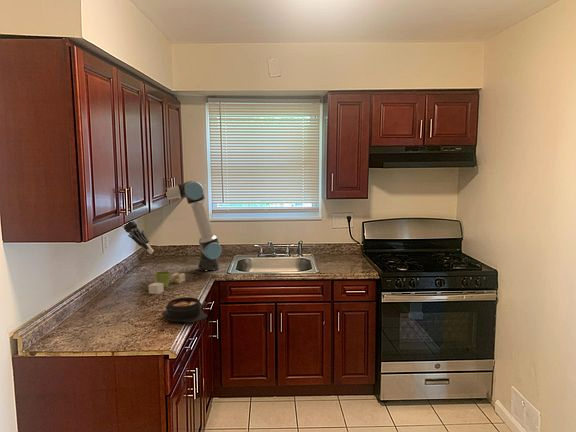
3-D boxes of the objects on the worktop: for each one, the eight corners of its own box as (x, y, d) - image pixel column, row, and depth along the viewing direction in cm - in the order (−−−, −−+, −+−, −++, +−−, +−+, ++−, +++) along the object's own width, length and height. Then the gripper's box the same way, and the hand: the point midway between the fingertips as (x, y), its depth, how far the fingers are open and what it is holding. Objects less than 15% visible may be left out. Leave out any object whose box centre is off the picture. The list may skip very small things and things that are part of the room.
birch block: (171, 282, 280) (171, 275, 280) (177, 280, 286) (176, 272, 285) (180, 283, 278) (179, 275, 278) (185, 281, 284) (184, 273, 284)
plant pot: (163, 283, 277) (162, 270, 276) (174, 285, 273) (173, 272, 272) (151, 287, 270) (151, 273, 269) (162, 289, 265) (162, 275, 264)
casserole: (152, 318, 214) (151, 301, 213) (182, 308, 229) (182, 292, 228) (186, 329, 199) (185, 311, 198) (216, 318, 214) (216, 301, 213)
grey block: (148, 293, 257) (148, 285, 257) (155, 290, 263) (154, 282, 262) (157, 294, 255) (157, 285, 255) (163, 291, 261) (163, 283, 260)
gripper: (131, 227, 284) (154, 254, 281) (118, 229, 272) (141, 258, 268) (138, 219, 282) (161, 246, 279) (125, 221, 270) (149, 250, 266)
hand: (152, 252), depth 273 cm, fingers closed
